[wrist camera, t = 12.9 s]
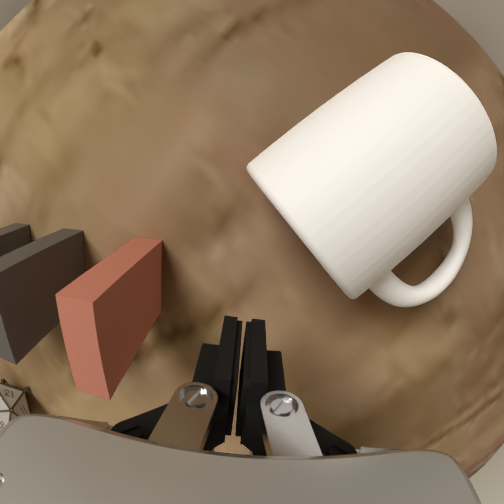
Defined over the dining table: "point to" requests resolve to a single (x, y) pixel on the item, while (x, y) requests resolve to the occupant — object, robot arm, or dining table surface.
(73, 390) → the dining table surface
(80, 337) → the red tile
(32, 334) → the black tile
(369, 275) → the mug
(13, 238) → the dark gray domino tile
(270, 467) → the robot arm
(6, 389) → the game die
